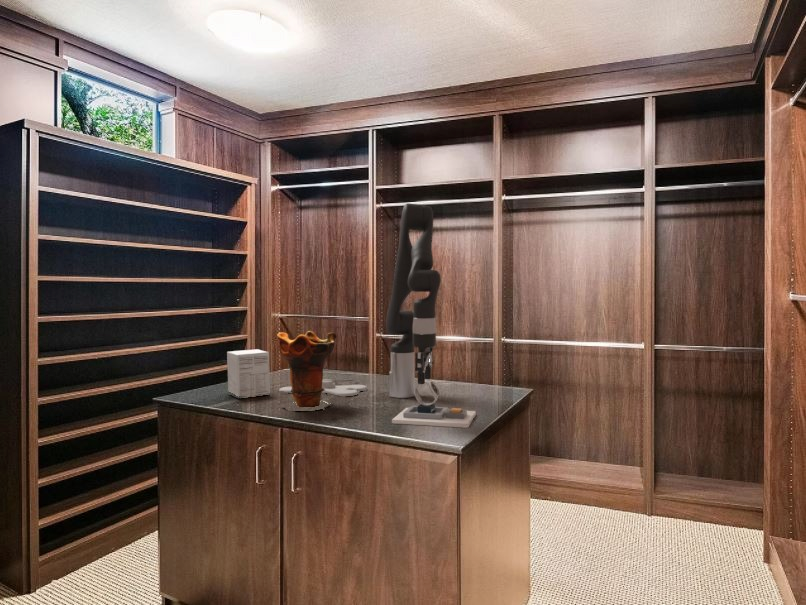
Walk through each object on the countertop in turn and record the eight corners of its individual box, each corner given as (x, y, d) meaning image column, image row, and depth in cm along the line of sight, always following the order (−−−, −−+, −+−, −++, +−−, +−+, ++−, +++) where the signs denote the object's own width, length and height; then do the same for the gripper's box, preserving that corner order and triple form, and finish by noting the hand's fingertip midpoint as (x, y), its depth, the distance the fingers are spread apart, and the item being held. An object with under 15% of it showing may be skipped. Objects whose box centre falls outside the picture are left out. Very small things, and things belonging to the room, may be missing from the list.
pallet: (392, 423, 176) (391, 414, 176) (406, 411, 193) (406, 403, 193) (467, 427, 170) (467, 418, 170) (475, 414, 186) (475, 406, 186)
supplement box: (270, 395, 223) (269, 351, 222) (237, 400, 215) (236, 354, 214) (259, 390, 234) (258, 348, 233) (227, 394, 226) (226, 351, 225)
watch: (436, 417, 179) (436, 382, 178) (412, 415, 181) (412, 381, 181) (441, 413, 184) (440, 379, 184) (417, 411, 187) (417, 378, 186)
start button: (450, 416, 178) (450, 410, 178) (452, 414, 181) (452, 407, 181) (460, 416, 178) (460, 410, 178) (461, 414, 180) (461, 408, 180)
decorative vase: (348, 399, 211) (345, 325, 208) (319, 417, 189) (315, 335, 187) (300, 396, 218) (296, 325, 215) (266, 413, 196) (261, 334, 194)
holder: (352, 398, 216) (352, 386, 216) (274, 394, 227) (274, 382, 227) (370, 389, 235) (370, 377, 234) (297, 386, 245) (297, 374, 245)
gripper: (418, 329, 189) (418, 376, 190) (407, 333, 175) (407, 385, 176) (440, 329, 187) (440, 377, 188) (430, 334, 173) (430, 386, 174)
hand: (424, 381), depth 182 cm, fingers open, 8 cm apart
